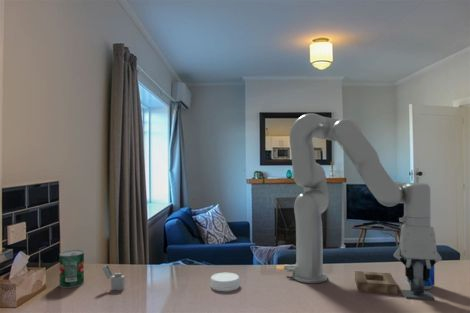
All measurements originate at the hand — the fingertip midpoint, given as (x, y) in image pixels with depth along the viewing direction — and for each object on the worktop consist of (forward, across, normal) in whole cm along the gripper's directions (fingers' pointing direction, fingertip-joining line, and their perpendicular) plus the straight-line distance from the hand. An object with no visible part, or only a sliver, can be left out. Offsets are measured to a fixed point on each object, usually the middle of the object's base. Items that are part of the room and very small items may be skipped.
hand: (417, 279), depth 114 cm
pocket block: (+5, -12, +6) cm, 14 cm away
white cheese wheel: (+6, -62, -5) cm, 62 cm away
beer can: (+5, +3, +10) cm, 12 cm away
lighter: (+6, -98, -16) cm, 99 cm away
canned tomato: (+6, -115, -15) cm, 116 cm away
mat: (+5, 0, 0) cm, 5 cm away
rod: (+4, 0, 0) cm, 4 cm away
